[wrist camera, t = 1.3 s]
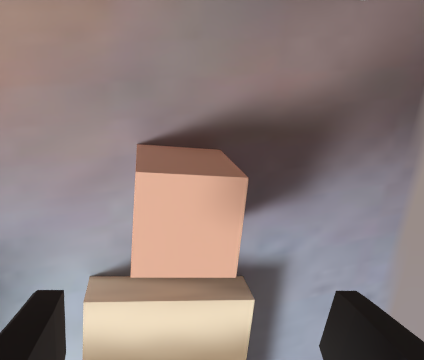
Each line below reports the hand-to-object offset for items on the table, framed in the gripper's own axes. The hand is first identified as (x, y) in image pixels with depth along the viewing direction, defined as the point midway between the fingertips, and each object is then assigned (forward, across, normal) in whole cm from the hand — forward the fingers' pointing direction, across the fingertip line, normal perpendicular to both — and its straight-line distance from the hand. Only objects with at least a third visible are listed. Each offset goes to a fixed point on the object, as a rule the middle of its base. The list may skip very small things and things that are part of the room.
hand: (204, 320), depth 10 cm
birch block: (+11, 0, +12) cm, 16 cm away
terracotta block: (+12, 0, +2) cm, 12 cm away
